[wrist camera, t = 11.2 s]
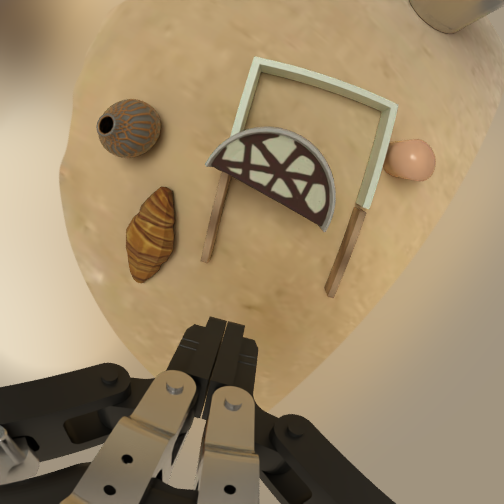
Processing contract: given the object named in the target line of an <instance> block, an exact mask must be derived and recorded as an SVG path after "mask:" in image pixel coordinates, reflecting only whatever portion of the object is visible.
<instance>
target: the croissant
mask: <svg viewBox="0 0 504 504" xmlns="http://www.w3.org/2000/svg"><path fill="white" fill-rule="evenodd" d="M174 221H175V218H174V207H173V193H172V190H170V189H169V188H167V187H160V188H159V189H158V190H157V191H155V192H154V193H153V194H152V195H151V196H150V197H149V198H148V199H147V200H146V201H145V202H144V203H143V204H142V205H141V208H140V212H139V213H138V214H137V215H136V216H135V217H134V218H133V219H132V221H131V223H130V224H129V226H128V228H127V229H126V250H127V253H128V262H129V268H130V272H131V274H132V277H133V279H134V280H135V281H136V282H138V283H144V282H145V281H146V280H148V279H149V278H150V277H151V276H153V275H154V274H155V273H156V272H157V271H159V269H160V266H161V264H162V263H164V262H165V261H166V260H167V259H168V257H169V256H170V254H171V252H172V251H173V242H174V233H173V224H174Z"/></svg>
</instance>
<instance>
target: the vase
mask: <svg viewBox="0 0 504 504" xmlns="http://www.w3.org/2000/svg"><path fill="white" fill-rule="evenodd" d="M160 129H161V123H160V119H159V116H158V114H157V112H156V111H155V109H154V108H153V107H152V106H150V105H149V104H147V103H145V102H143V101H140V100H136V99H127V100H122V101H119V102H117V103H115V104H113V105H112V106H110V107H109V108H108V109H107V110H106V111H105V113H104V114H103V115H102V116H101V117H100V119H99V120H98V122H97V132H98V134H99V139H100V141H101V144H102V145H103V147H104V148H105V149H106V150H107V151H109V152H110V153H112V154H114V155H116V156H119V157H126V158H128V157H135V156H139V155H141V154H143V153H145V152H147V151H148V150H149V149H150V148H152V147H153V145H154V144H155V143H156V141H157V139H158V137H159V134H160Z"/></svg>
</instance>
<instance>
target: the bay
mask: <svg viewBox="0 0 504 504" xmlns="http://www.w3.org/2000/svg"><path fill="white" fill-rule="evenodd" d="M261 72H263V73H267V74H272V75H276V76H280V77H284V78H287V79H291V80H295V81H298V82H302V83H305V84H308V85H312V86H315V87H318V88H321V89H324V90H327V91H330V92H333V93H336V94H339V95H342V96H344V97H347V98H350V99H352V100H355V101H357V102H360V103H362V104H365V105H367V106H370V107H372V108H374V109H377V110H379V111H381V112H382V113H381V117H380V121H379V125H378V129H377V132H376V136H375V140H374V144H373V147H372V151H371V154H370V158H369V161H368V165H367V168H366V172H365V175H364V178H363V181H362V185H361V188H360V191H359V194H358V197H357V200H356V203H357V204H358V205H360V206H362V207H364V208H367V209H370V206H371V203H372V199H373V196H374V193H375V190H376V187H377V184H378V181H379V177H380V174H381V171H382V167H383V164H384V160H385V157H386V153H387V149H388V146H389V142H390V138H391V134H392V130H393V126H394V122H395V118H396V113H397V109H398V104H396V103H394V102H392V101H390V100H387V99H385V98H383V97H381V96H378V95H376V94H374V93H371V92H369V91H367V90H364V89H362V88H359V87H357V86H354V85H352V84H349V83H346V82H344V81H341V80H338V79H335V78H332V77H329V76H326V75H323V74H320V73H317V72H314V71H310V70H307V69H304V68H300V67H297V66H293V65H289V64H285V63H281V62H277V61H273V60H268V59H264V58H259V57H254V59H253V62H252V65H251V68H250V71H249V75H248V78H247V81H246V84H245V88H244V91H243V94H242V97H241V101H240V104H239V108H238V111H237V114H236V118H235V121H234V125H233V129H232V132H231V136H233V135H235V134H236V133H239V132H241V131H244V128H245V124H246V121H247V117H248V114H249V110H250V107H251V104H252V100H253V97H254V94H255V90H256V87H257V84H258V80H259V77H260V74H261ZM231 136H230V137H231Z"/></svg>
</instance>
